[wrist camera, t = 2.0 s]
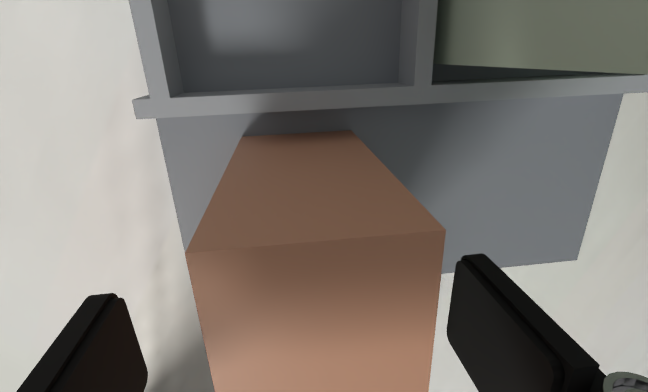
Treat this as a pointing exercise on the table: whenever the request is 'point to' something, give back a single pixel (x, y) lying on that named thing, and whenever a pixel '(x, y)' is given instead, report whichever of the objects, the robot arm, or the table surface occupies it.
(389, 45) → the shelf
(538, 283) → the table surface
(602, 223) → the table surface
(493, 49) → the carton sage
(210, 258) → the carton rust
